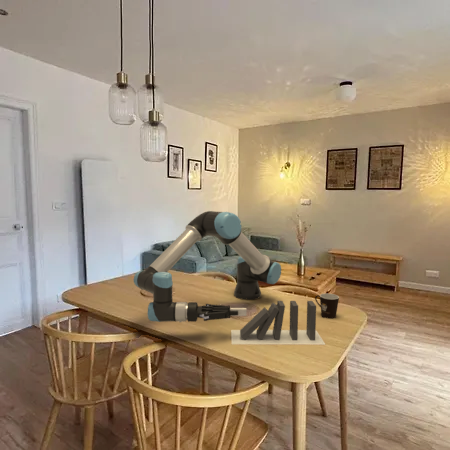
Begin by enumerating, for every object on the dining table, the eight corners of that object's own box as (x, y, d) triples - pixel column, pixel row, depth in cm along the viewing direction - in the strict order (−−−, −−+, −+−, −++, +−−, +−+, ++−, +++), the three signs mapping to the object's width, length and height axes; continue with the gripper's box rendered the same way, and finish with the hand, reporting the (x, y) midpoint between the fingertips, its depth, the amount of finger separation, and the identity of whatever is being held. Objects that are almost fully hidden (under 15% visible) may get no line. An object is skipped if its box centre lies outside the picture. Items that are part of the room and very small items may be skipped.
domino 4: (292, 340, 128) (293, 305, 127) (289, 333, 134) (290, 300, 133) (297, 340, 128) (298, 305, 127) (294, 333, 134) (295, 300, 133)
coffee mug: (341, 319, 150) (342, 298, 149) (324, 321, 149) (324, 299, 148) (329, 310, 162) (330, 291, 161) (313, 311, 160) (313, 292, 159)
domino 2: (257, 337, 128) (274, 307, 127) (256, 331, 134) (272, 302, 133) (262, 340, 128) (279, 309, 127) (260, 333, 134) (276, 304, 133)
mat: (231, 331, 138) (231, 329, 138) (316, 331, 138) (316, 330, 138) (231, 345, 125) (231, 344, 125) (325, 345, 125) (325, 344, 125)
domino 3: (274, 339, 128) (280, 305, 127) (272, 333, 134) (277, 300, 133) (279, 340, 128) (285, 306, 127) (277, 333, 134) (282, 301, 133)
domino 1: (240, 336, 128) (266, 312, 127) (240, 330, 134) (264, 307, 133) (244, 340, 128) (269, 316, 127) (243, 333, 134) (267, 310, 133)
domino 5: (310, 340, 128) (311, 305, 127) (306, 333, 134) (307, 300, 133) (315, 340, 128) (316, 305, 127) (311, 333, 134) (312, 300, 133)
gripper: (189, 314, 137) (245, 314, 137) (185, 327, 124) (247, 327, 124) (189, 297, 137) (245, 297, 136) (185, 308, 124) (247, 308, 123)
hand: (246, 311), depth 130 cm, fingers closed
